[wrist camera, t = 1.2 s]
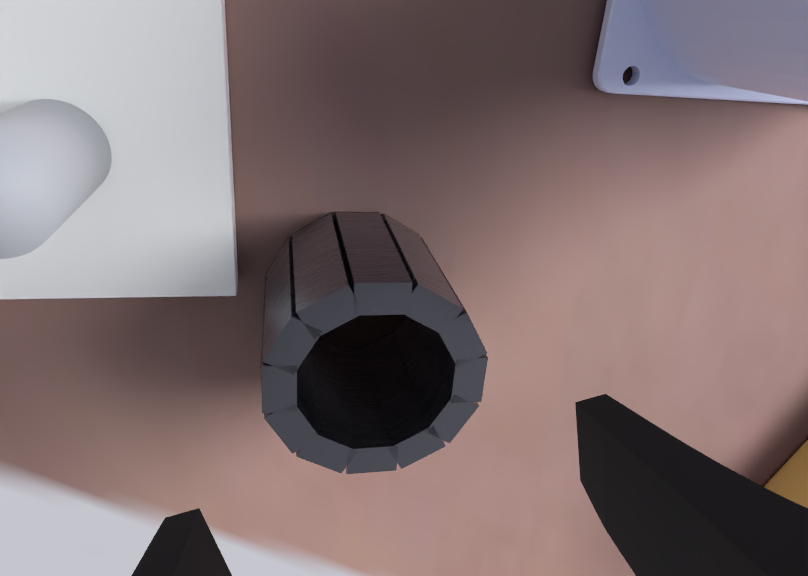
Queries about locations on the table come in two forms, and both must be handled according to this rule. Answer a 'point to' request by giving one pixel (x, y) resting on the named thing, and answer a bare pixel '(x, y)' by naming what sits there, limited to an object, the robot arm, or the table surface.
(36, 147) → the white square peg stand
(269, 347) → the gray grooved hollow cylinder
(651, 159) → the table surface
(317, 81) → the table surface
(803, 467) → the rubber stamp
